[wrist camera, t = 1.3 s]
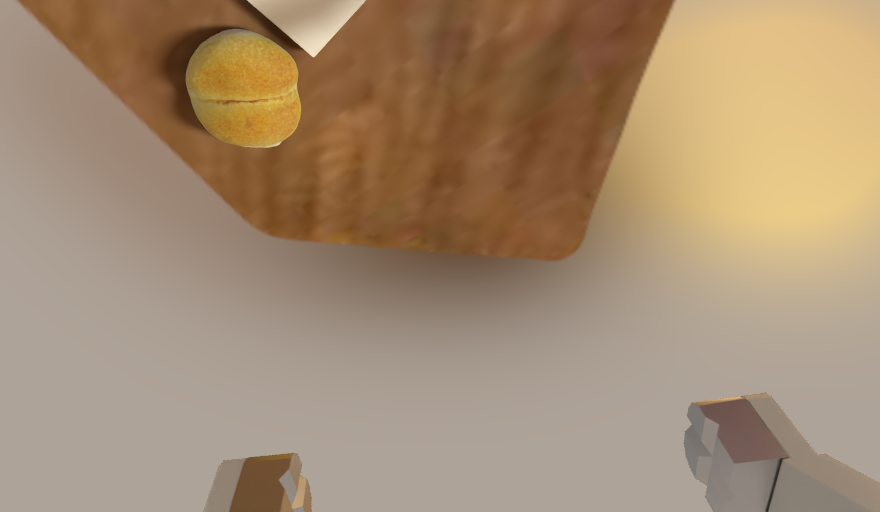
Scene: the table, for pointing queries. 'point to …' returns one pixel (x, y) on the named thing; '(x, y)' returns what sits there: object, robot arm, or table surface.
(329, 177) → the table surface
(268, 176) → the table surface
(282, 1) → the cream and gray plank
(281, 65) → the bread roll
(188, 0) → the table surface
